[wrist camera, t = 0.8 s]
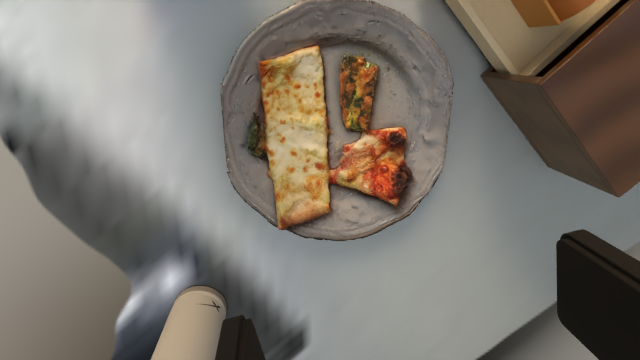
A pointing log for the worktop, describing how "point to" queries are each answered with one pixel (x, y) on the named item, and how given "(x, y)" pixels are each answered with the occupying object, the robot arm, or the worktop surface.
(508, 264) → the worktop surface
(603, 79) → the cabinet
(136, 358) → the worktop surface
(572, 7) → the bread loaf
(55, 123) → the worktop surface
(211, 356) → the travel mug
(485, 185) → the worktop surface
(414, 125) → the food plate
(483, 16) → the drawer
